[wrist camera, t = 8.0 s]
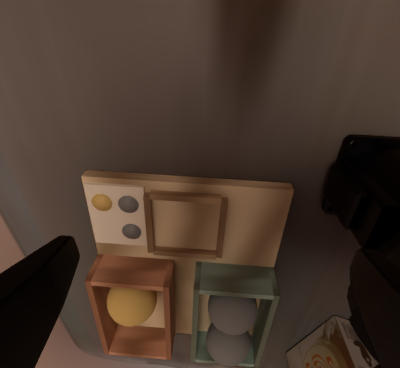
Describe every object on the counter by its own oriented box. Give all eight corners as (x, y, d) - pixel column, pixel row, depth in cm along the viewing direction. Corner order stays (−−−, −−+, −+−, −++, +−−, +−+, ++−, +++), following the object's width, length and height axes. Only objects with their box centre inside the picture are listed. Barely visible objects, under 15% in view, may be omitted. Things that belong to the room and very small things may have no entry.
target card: (144, 185, 21) (143, 188, 21) (149, 243, 24) (148, 247, 24) (85, 182, 21) (82, 184, 21) (97, 240, 24) (95, 243, 24)
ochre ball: (160, 265, 25) (149, 308, 22) (161, 295, 28) (152, 339, 24) (113, 261, 26) (95, 303, 22) (118, 291, 28) (103, 334, 24)
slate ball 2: (249, 307, 28) (257, 352, 24) (244, 331, 30) (250, 376, 27) (206, 305, 28) (207, 350, 24) (204, 330, 30) (205, 374, 27)
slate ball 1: (258, 272, 25) (264, 317, 21) (251, 302, 27) (256, 347, 24) (209, 268, 25) (208, 313, 22) (207, 298, 28) (205, 343, 24)
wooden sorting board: (291, 183, 21) (304, 215, 18) (254, 330, 32) (258, 368, 28) (86, 169, 22) (61, 198, 18) (117, 319, 32) (104, 355, 29)
